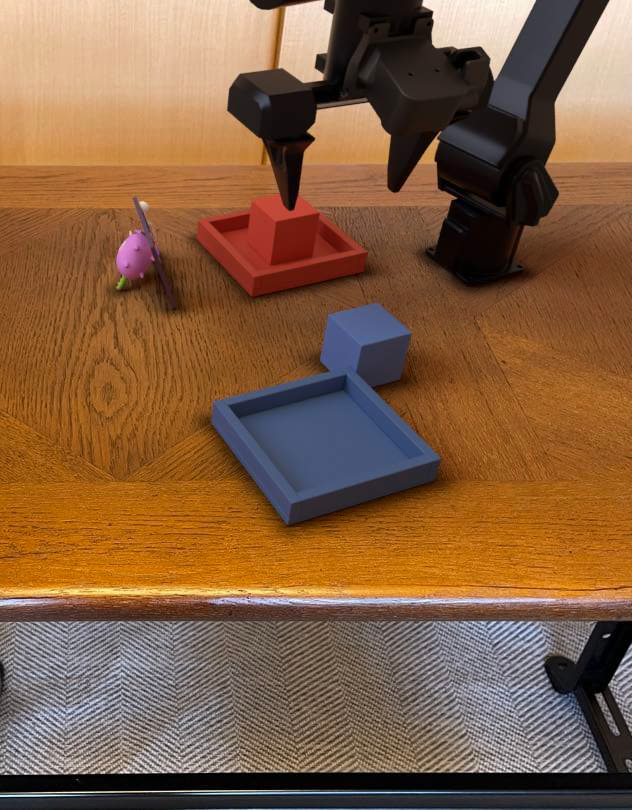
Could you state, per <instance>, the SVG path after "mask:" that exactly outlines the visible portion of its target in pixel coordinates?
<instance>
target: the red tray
mask: <svg viewBox="0 0 632 810" xmlns="http://www.w3.org/2000/svg"><path fill="white" fill-rule="evenodd" d="M304 200H305V201H307V200H306V199H304ZM310 205H311V206H313V205H312V204H310ZM250 210H251V208H250V209H245V210H241V211H235V212H229V213H223V214H219V215H215V216H209V217H206V218H199V219H197V230H196V240H197V241H198V242H199V243H200V244H201V246H202V247H204V248H205V250H207V252H209V254H210V255H211V256H212V257H213V258H214V259H215V260H216V261H217V262H218V263H219V264H220V266H222V268H223V269H224V270H225V271H226V272H227V273H228V274H229V275H230V276H231V277H232V278H233V279H234V280H235V281H236V283H238V284H239V286H241V288H243V289H244V291H245V292H246V293H247V294H248V295H249V296H250V297H251V298H254V297H258V296H259V297H260V296H263V295H267V294H272V293H275V292H281V291H285V290H290V289H294V288H299V287H302V286H308V285H311V284H316V283H321V282H326V281H329V280H334V279H339V278H342V277H347V276H352V275H355V274H359V273H364V272H365V269H366V268H365V267H366V263H367V258H368V254H369V252H368V251H367V250H366V249H365V248H364V247H363V246H361V245H360V244H359V243H357V242H356V241H355V240H354V239H353V238H352V237H351V236H349V235H348V234H347V233H346V232H345V231H343V229H341V228H340V227H339V226H337V224H335V223H334V222H333V221H331V220H330V219H329V218H328V217H326V216H325V215H324V214H322V213H321V212H320V215H319V221H318V227H317V233H316V239H315V245H314V251H313V256H310V257H306V258H301V259H296V260H292V261H287V262H283V263H278V264H273V265H270V264H268V263H267V262H266V261H265V260H264V259H263V258H262V257H261V256H260V255H259V254H258V253H257V252H256V251H255V250H254V249H253V248H252V247H251V246H250V245H249V244H248V243H247V236H248V228H249V219H250ZM316 210H317V211H319V210H318V209H316Z"/></svg>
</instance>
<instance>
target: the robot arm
mask: <svg viewBox="0 0 632 810" xmlns="http://www.w3.org/2000/svg"><path fill="white" fill-rule="evenodd" d="M248 1H249V2H250V3H251V4H252V5H253V6H254V7H255V8H257V9H259V10H260V11H261V10H262V11H271V10H277V9H283V8H288V7H292V6H298V5H305V4H310V3H315V2H320V1H321V0H248ZM610 1H611V0H535V2H534V3H533V5H532V7H531V9H530V11H529V13H528V15H527V17H526V19H525V21H524V22H523V25H522V27H521V29H520V31H519V33H518V35H517V37H516V38H515V41H514V43H513V45H512V46H511V49H510V50H509V53H508V55H507V57H506V59H505V61H504V63H503V65H502V66H501V69H500V71H499V73H498V74H497V76H496V78H494V75H493V74H494V73H493V71H492V68H491V60H492V59H491V57H490V56H489V55H488V53H487V52H486V50H485V49H484V48H483V47H482V46H471V47H463V48H457V47H455V46H452V45H451V46H450V45H449V46H444V47H443V46H442V47H435V45H434V44H433V30H434V29H433V28H434V25H435V20H434V18H433V17H434V10H432V9H431V8H428V7H426V6H424V5H423V4H424V0H324V1H323V2H324V3H323V10H324V11H326V13H329V14H331V15H332V19H331V25H330V32H329V37H328V44H327V50H326V52H323V53H322V52H321V53H317V54H316V56H315V62H314V69H315V70H316V71H318V72H319V73H320V74H322V75H323V76H322V80H315V81H314V80H313V81H308V82H303V81H301V80H300V79H299V78H297V77H296V76H294V75H293V74H291V73H290V72H289V71H287V70H286V69H285V68H284V67H279V68H273V69H264V70H257V71H249V72H242V73H239V74H238V75H237V76H236V78H235V79H234V80H233V81H232V82H231V85H230V86H229V88H228V96H227V104H226V105H227V106H226V111H227V112H228V113H229V114H230V115H231V116H232V117H234V118H235V119H236V120H237V121H238V122H239V123H241V124H242V125H243V126H244V127H245V128H247V129H248V130H249V131H250V132H251V133H252V134H253V135H254V136H256V137H257V138H258V139H261V141H262V143H263V146H264V148H265V150H266V153H267V156H268V159H269V162H270V166H271V169H272V172H273V176H274V179H275V182H276V186H277V189H278V192H279V194H280V196H281V199H282V203H283V205H284V207H285V208H286V209H287V210H288V211H293V210H294V209H295V205H296V202H297V198H298V195H300V194H299V193H300V186H301V177H302V170H303V163H304V156H305V155H304V154H305V151H306V150H307V149H308V148H310V146H311V145H312V144H313V143H314V142H315V141H316V137H315V136H314V135H312V134H311V133H310V132H309V130H310V129H311V128H312V127H313V125H315V124H316V120H317V114H318V111H320V110H326V109H333V108H342V107H348V106H356V105H361V104H367V103H369V105H370V107H371V108H372V109H373V111H374V112H375V114H376V116H377V117H378V119H379V121H380V125H381V127H382V129H383V130H384V131H385V132H386V133H387V134H389V135H390V138H389V139H390V140H389V147H388V156H387V157H388V158H387V166H386V167H387V169H386V183H387V184H386V187H387V189H388V190H389V191H390V192H391V193H393V194H397V193H399V192H401V190H402V188H403V187H404V185H405V184H406V182H407V180H408V179H409V177H410V176H411V175H412V173H413V171H414V170H415V168H416V166H417V165H418V163H419V162H420V160H421V159H422V157H423V156H424V154H425V152H426V151H427V150H428V148H429V147H430V145H432V143H433V142H434V140H435V139H436V140H437V141H438V143H437V146H436V150H435V153H434V157H433V161H434V162H435V163H436V179H437V181H436V184H437V190H439V191H440V192H444V193H446V194H448V195H450V196H452V197H453V198H454V199H451V200H450V204H449V206H448V207H449V208H448V211H447V215H446V217H445V218H443V220H442V223H441V226H440V227H441V228H440V231H439V235H438V239H437V243H436V244H435V245H431V246H426V247H425V249H424V254H425V255H426V256H427V257H428V258H430V259H431V260H433V261H434V262H435V263H437V264H438V265H439V266H440V267H442V268H443V269H444V270H445V271H447V272H448V273H449V274H451V275H452V276H454V277H455V278H456V279H457V280H458V281H460V282H461V283H463V284H464V285H466V286H475V285H479V284H484V283H488V282H492V281H496V280H499V279H500V280H501V279H504V278H508V277H512V276H513V277H514V276H517V275H520V274H524V273H525V269H526V266H525V265H523V264H522V263H521V262H519V261H518V260H516V259H515V256H516V253H517V250H518V248H519V245H520V241H521V238H522V235H523V231H524V229H525V227H536V226H539V223H540V220H541V219H543V218H546V217H547V216H548V215H549V214H550V213H551V210H552V209H553V207H554V205H555V204H556V201H557V200H558V198H559V196H560V191H559V190H558V188H557V186H556V184H555V182H554V181H553V179H552V177H551V175H550V173H549V172H548V170H547V168H546V165H547V162H548V161H549V159H550V156H551V154H552V151H553V149H554V147H555V145H556V142H557V133H556V132H557V131H556V129H557V127H556V102H557V99H558V98H559V95H560V93H561V92H562V89H563V87H564V86H565V84H566V82H567V80H568V79H569V76H570V75H571V73H572V71H573V69H574V67H575V65H576V63H577V62H578V60H579V58H580V57H581V54H582V53H583V50H584V49H585V47H586V45H587V43H588V41H589V39H590V38H591V36H592V34H593V32H594V31H595V28H596V27H597V25H598V23H599V21H600V19H601V18H602V16H603V13H604V12H605V10H606V8H607V6H608V5H609V3H610Z"/></svg>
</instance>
